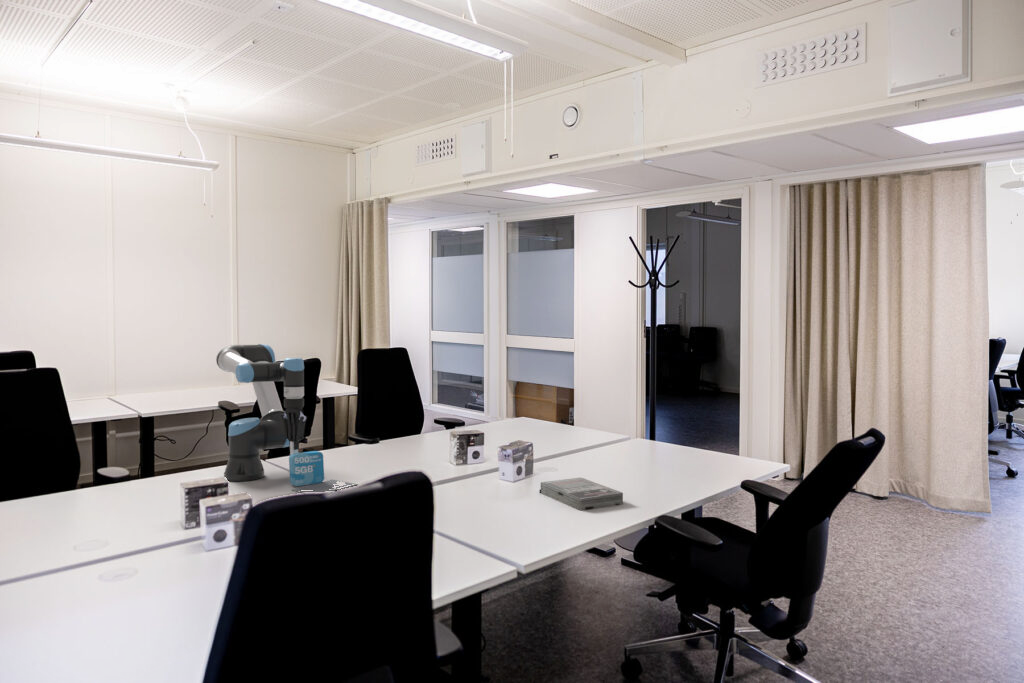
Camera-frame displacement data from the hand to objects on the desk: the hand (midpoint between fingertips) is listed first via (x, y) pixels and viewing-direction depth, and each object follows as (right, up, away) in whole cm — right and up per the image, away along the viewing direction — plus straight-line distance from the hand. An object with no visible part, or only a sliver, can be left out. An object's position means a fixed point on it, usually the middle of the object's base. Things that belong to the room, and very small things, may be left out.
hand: (294, 457), depth 268 cm
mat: (+15, -10, -9) cm, 20 cm away
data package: (+6, -10, -4) cm, 12 cm away
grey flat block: (+110, -12, -21) cm, 112 cm away
